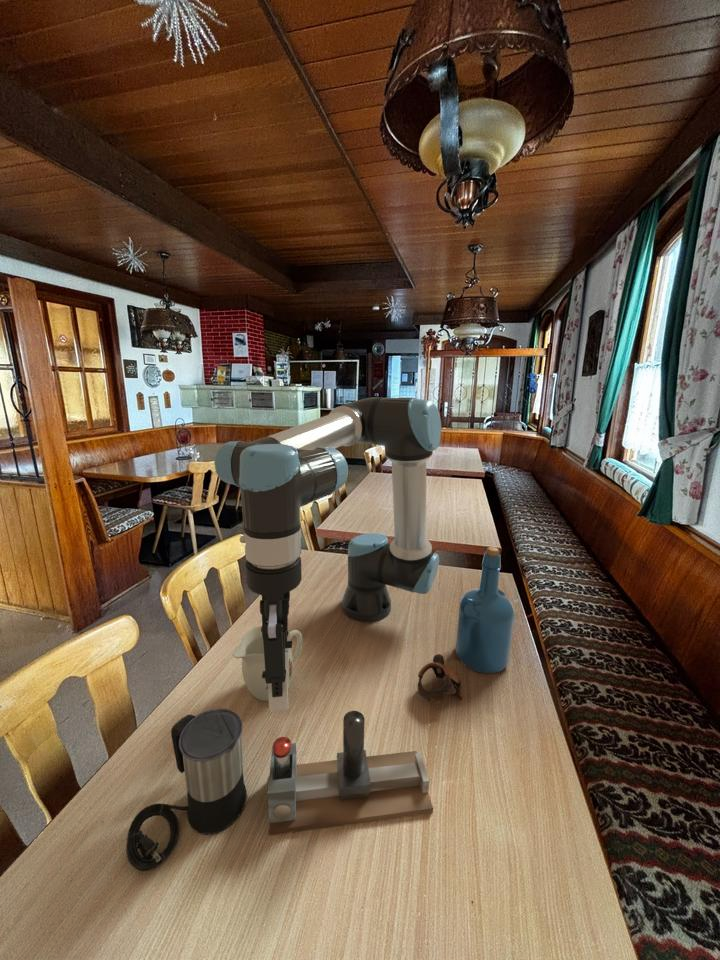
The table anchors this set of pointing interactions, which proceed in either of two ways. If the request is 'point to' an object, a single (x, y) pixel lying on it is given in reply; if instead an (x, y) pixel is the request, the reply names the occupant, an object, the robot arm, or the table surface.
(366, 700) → the table surface
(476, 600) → the wine bottle
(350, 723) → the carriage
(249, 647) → the pitcher
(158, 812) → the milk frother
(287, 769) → the red ball knob
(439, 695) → the broken pottery
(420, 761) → the rail base
